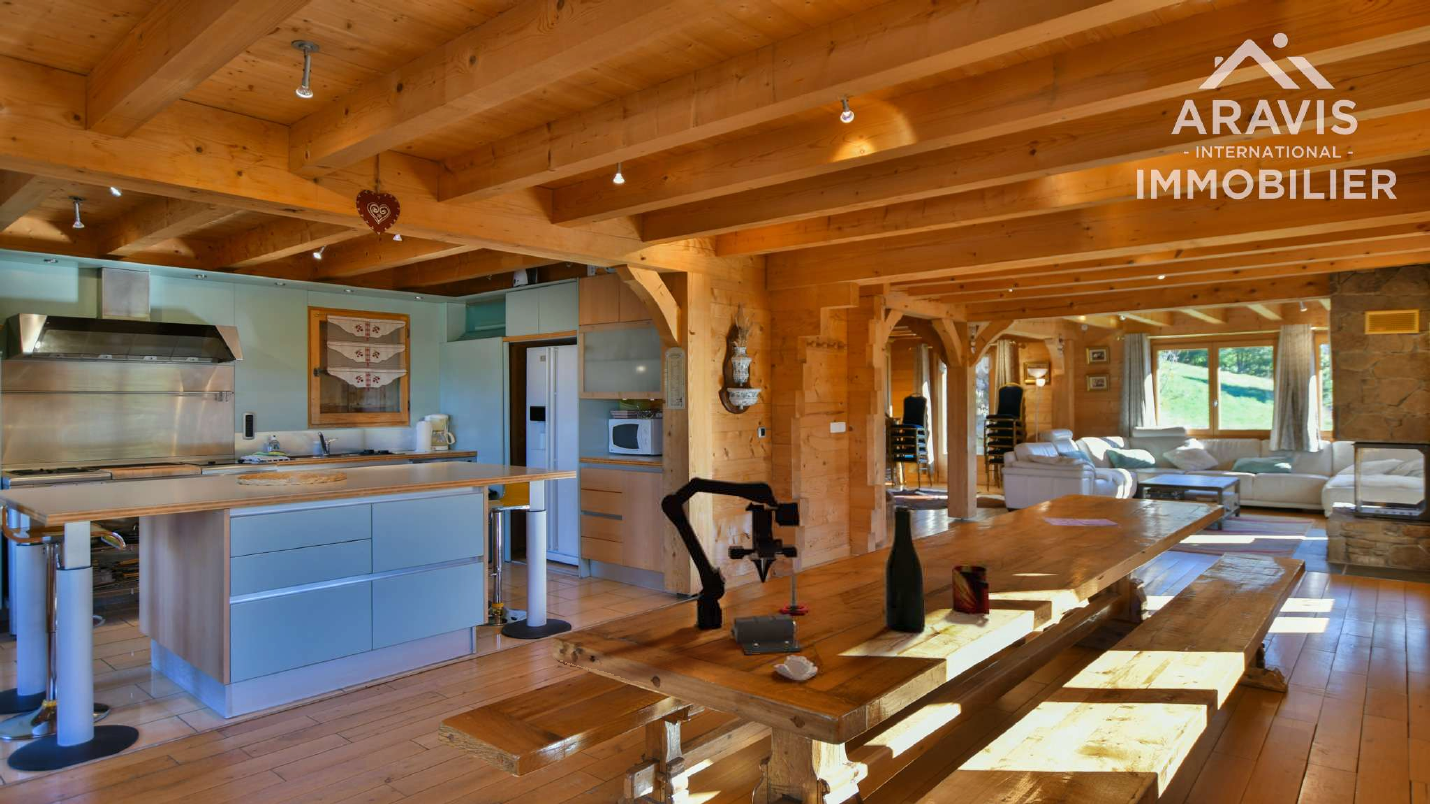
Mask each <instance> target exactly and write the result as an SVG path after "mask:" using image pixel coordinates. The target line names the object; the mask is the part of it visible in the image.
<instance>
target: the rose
mask: <svg viewBox="0 0 1430 804" xmlns="http://www.w3.org/2000/svg"><path fill="white" fill-rule="evenodd" d="M773 667H774V669H775V671H776V673H777V672H778V673H777V674H780V675H781V674H782V676H784V677H786V678H788V679H791V680H794V681H801V682H802V681H807V680H809V679H811V678H813V677H814V676H815V675H817V673H818V667H817V666H814V663H813V662H812V661H810V660H808V659H807V658H806V657H805V656H796V655H795V654H794V655H793V654H791V655H788V656H786V658H785V661H784V662H783V663H781V664H780V663H778V664H775V665H774V666H773Z"/></svg>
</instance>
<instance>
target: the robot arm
mask: <svg viewBox="0 0 1430 804" xmlns="http://www.w3.org/2000/svg"><path fill="white" fill-rule="evenodd" d="M698 493H705V494H712V495H713V494H714V495H723V496H732V497H738V498H742V499H745V500H747V501H750V502H749V503H748V505H747V506H745V511H746V512H751V548H745V547H743V545H730V546H729V547H728V549H727V556H728V558H729V559H730V560H743V559H744V558H745V556H747V558H748V560H749V561H750V562H751V563H753V564H754V566H755V569H756V571H757V575H758V577H759V580H760V583H761V584H764V583H766V579H767V577H768V573H769V571H770V567H771V565H773V563H774V562H777V560H778V558H776V557H777V555H783V556H785V558H786V559H787V558H797V557H798V549H797V547H795V546H794V544H792V543H789V544H788V543H786V544H783V539H782V538H775V539H774V534H773V512H774V524H776V525H778V527H781V528H783V527H785V528H787V527H789V528H790V527H793V528H794V527H796V528H797V527H799V526H800V514H799V503H798V502H797V501H791V502H779V501H778V498H775V496H774V495H773V488H772V487H771V485H770V483H768V482H767V481H765V480H753V481H752V480H751V481H744V482H737V481H730V480H729V481H728V480H722V479H721V480H718V479H712V478H711V479H710V478H704V477H703V478H702V477H699V476H694V477H692V478H691V479H690V480H689V481H688V482H687V483H686V484H684V485H683V486H682V487H680V488H679V489H678V490H677V491H673V492H672V491H671V492H669V493H667V494H666V495H665V496H664V497H663V499H662V500H661V503H660V507H661V510H662V511H663V513H664V514H665V516H666V517H667V518H668V519H669V521H670V522H671V523H672V524H673V525H674V526H675V528H676V529H677V531H678V533H679V536H680V537H681V539H682V542H683V543H684V545H685V548H686V549H687V552H688V553H689V555H690V557H691V559H692V561H693V563H694V565H695V568H696V570H697V571H698V575H699V578H700V584H701V586H702V588H701V590H700V591H699V592H698V593H697V597H696V598H697V599H696V602H695V603H696V605H695V606H696V621H695V624H696V626H697V629H698V630H703V629H718V628H719V629H720V628H722V624H723V609H722V607H721V603H720V602H719V601H720V600H721V599H722V598H723V597H724V595H725V590H726V577H725V576H724V575H723V573H722V570H721V567H720V566H718V567H716V568H715V567H714V566H713V565H712V564H711V562H710V560H709V558H708V556H707V553H706V552H705V550H704V548H703V547H702V544H701V542H700V540H699V538H698V536H697V534H696V531H695V530H694V528H693V526H692V524H691V522H690V520H689V516H688V511H687V507H686V504H685V503H686V502H687V501H689V500H690V499H691V498H692V497H693V496H695V495H696V494H698ZM753 502H754V503H757V504H754V503H753ZM765 505H767V506H768V507H765Z"/></svg>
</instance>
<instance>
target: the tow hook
mask: <svg viewBox="0 0 1430 804" xmlns="http://www.w3.org/2000/svg"><path fill="white" fill-rule="evenodd" d="M790 579H791V583H790V584H791V585H790V586H791V587H790V588H791V596H790V604H786V605H782V606H780V607H779V609H780V611H781V612H782V615H784V614H789V615H790V614H798V615H803V614H805V615H806V612H805V611H807V612H809V611H810V607H809V606H807V605H803V604H798V603H797V596H796V595H797V594H796V593H797V592H796V577H795V569H791V578H790ZM789 607H790V608H789ZM798 607H801V608H803V609H800V608H798ZM786 608H789V609H786ZM808 610H809V611H808Z"/></svg>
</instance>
